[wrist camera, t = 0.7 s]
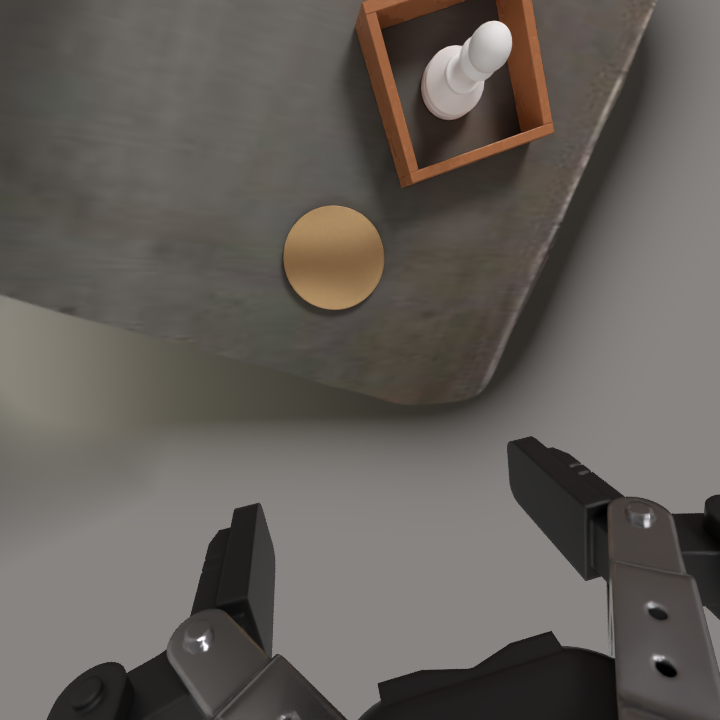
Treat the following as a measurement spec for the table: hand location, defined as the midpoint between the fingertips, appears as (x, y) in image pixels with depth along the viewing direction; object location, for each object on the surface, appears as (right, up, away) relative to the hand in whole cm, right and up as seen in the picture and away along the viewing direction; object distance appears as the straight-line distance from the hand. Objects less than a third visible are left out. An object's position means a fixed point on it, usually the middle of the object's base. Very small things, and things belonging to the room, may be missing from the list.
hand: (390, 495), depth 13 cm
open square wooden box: (+7, +27, +22) cm, 36 cm away
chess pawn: (+7, +27, +22) cm, 36 cm away
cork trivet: (-3, +13, +24) cm, 28 cm away
